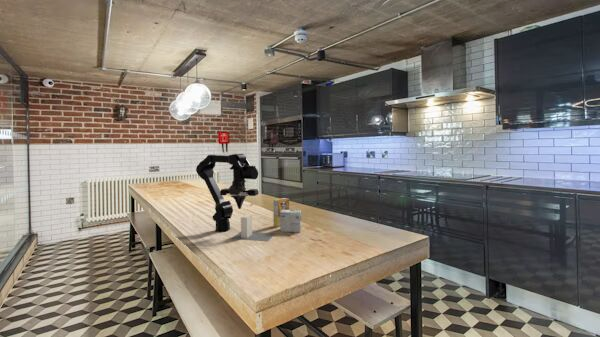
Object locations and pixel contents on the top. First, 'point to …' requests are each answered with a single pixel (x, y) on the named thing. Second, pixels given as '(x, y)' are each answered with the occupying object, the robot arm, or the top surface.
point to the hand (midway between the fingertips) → (239, 208)
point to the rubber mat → (255, 236)
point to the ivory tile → (246, 226)
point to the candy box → (279, 209)
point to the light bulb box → (290, 220)
